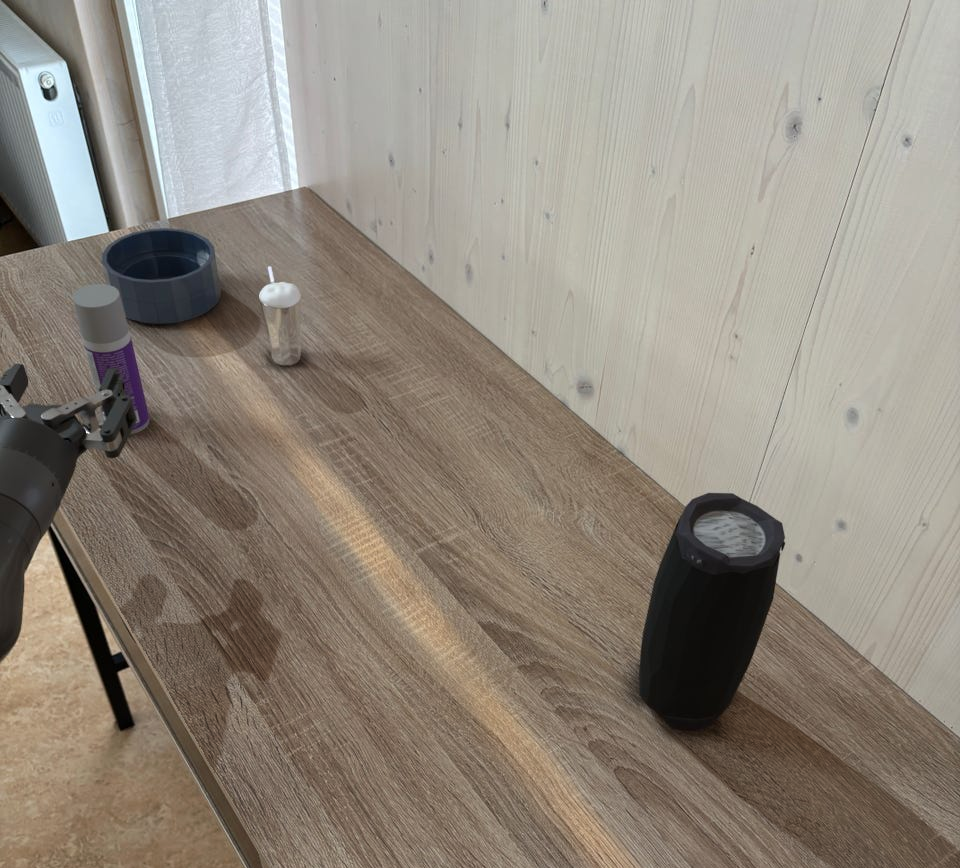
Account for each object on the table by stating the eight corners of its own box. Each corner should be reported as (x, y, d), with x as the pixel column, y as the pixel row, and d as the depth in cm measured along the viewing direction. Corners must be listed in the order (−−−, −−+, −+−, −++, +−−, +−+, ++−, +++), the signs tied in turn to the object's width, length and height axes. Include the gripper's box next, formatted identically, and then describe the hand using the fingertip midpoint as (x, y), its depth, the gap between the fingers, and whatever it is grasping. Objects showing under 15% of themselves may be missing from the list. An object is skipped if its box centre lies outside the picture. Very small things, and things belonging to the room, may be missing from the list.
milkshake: (296, 341, 125) (288, 262, 118) (311, 364, 122) (304, 285, 115) (259, 348, 124) (249, 269, 117) (274, 372, 121) (264, 292, 113)
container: (158, 415, 114) (130, 288, 103) (135, 439, 111) (103, 312, 100) (120, 405, 115) (88, 279, 104) (96, 429, 112) (61, 301, 101)
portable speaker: (754, 698, 91) (818, 528, 76) (684, 755, 86) (738, 587, 72) (678, 641, 95) (726, 471, 80) (608, 693, 90) (645, 523, 76)
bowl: (112, 332, 125) (101, 286, 120) (112, 277, 133) (102, 231, 129) (225, 323, 127) (218, 277, 123) (218, 269, 136) (211, 224, 131)
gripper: (90, 453, 82) (138, 341, 93) (-93, 445, 82) (-23, 334, 93) (111, 525, 88) (154, 411, 99) (-61, 518, 88) (2, 405, 99)
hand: (68, 374), depth 96 cm, fingers open, 8 cm apart
